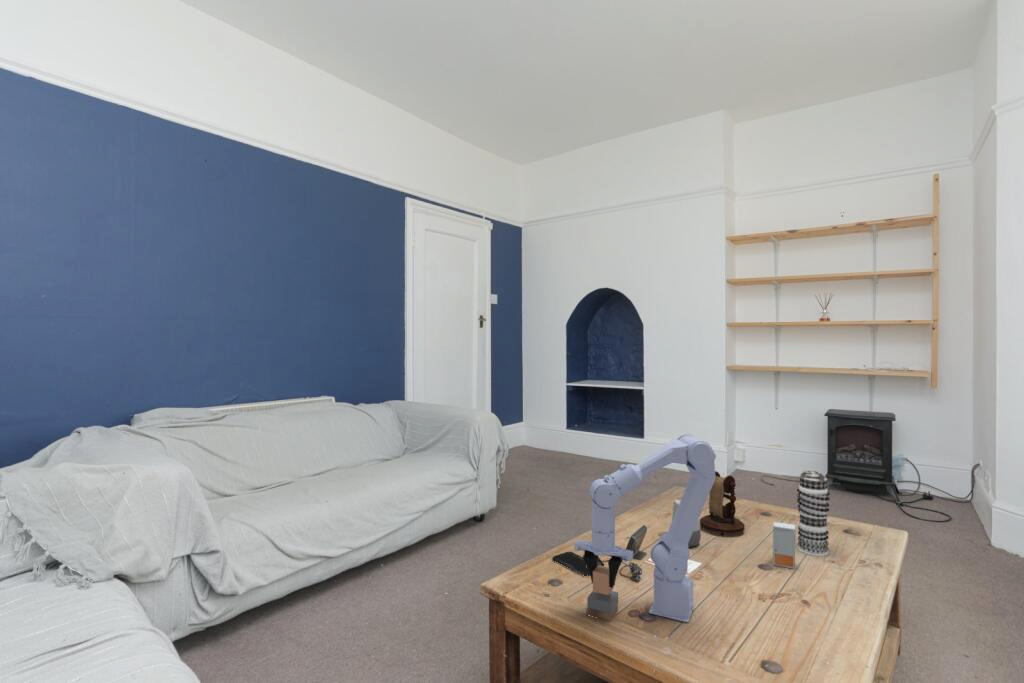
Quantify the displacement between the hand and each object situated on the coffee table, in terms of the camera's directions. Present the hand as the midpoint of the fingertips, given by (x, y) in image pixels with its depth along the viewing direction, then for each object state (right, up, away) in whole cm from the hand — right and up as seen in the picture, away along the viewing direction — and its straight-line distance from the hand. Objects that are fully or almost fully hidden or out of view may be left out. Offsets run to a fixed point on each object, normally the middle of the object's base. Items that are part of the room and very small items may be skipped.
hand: (603, 583), depth 131 cm
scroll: (+52, -7, +56) cm, 77 cm away
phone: (-3, -8, +28) cm, 29 cm away
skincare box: (+59, -7, +27) cm, 65 cm away
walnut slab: (0, -8, 0) cm, 8 cm away
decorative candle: (+74, -7, +38) cm, 83 cm away
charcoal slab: (0, -5, 0) cm, 5 cm away
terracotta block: (0, -2, 0) cm, 2 cm away
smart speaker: (+35, -7, +44) cm, 56 cm away
